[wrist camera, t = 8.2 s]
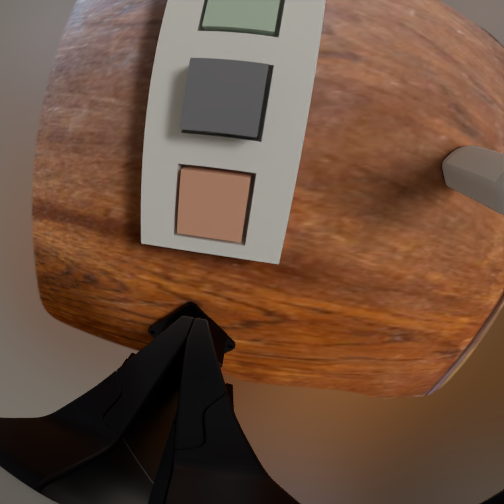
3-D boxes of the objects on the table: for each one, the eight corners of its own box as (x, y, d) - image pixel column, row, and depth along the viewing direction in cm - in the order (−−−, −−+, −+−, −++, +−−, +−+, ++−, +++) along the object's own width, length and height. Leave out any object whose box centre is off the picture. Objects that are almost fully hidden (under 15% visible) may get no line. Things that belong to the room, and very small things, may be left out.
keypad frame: (277, 248, 22) (278, 264, 19) (153, 229, 22) (141, 243, 19) (321, -9, 13) (328, -23, 10) (187, -21, 12) (178, -35, 10)
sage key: (273, 40, 14) (274, 31, 12) (207, 34, 14) (202, 26, 12) (281, -8, 12) (283, -20, 11) (218, -14, 12) (214, -25, 10)
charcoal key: (257, 136, 16) (256, 137, 14) (188, 128, 16) (179, 129, 14) (268, 70, 14) (268, 64, 13) (197, 64, 14) (190, 57, 12)
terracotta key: (243, 231, 20) (241, 242, 19) (184, 222, 20) (177, 233, 18) (251, 172, 19) (250, 177, 17) (188, 164, 18) (181, 169, 17)
